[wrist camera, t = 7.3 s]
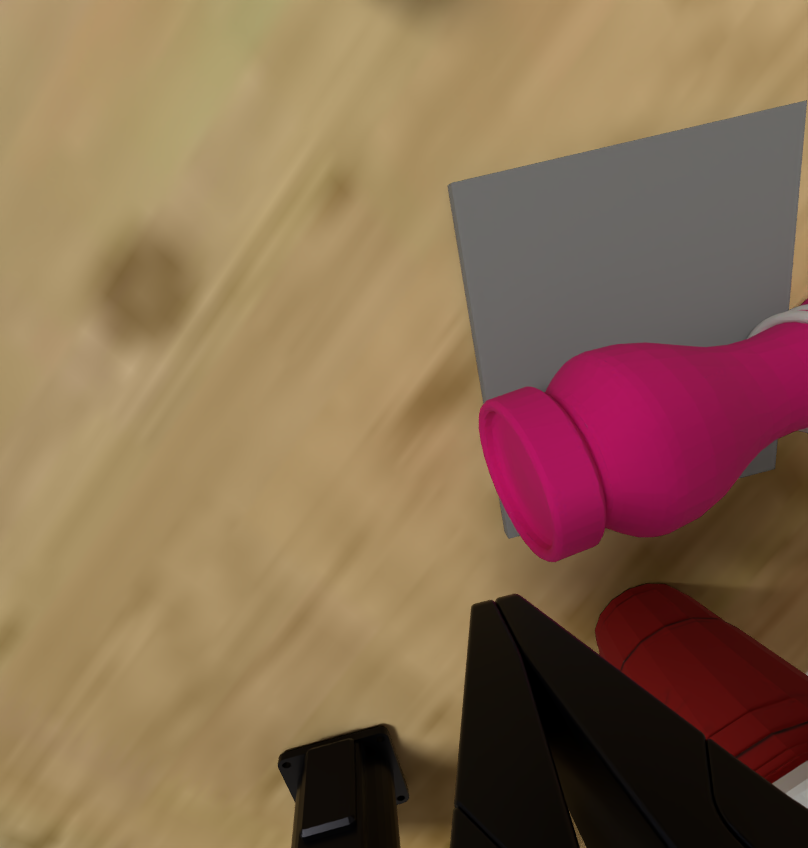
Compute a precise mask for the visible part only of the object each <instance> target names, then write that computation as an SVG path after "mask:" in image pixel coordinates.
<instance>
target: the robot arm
mask: <svg viewBox="0 0 808 848" xmlns="http://www.w3.org/2000/svg"><path fill="white" fill-rule="evenodd" d="M278 768H279V770H280V772H281V774H282V776H283V778H284V780H285V783H286V785H287V787H288V789H289V791H290V793H291V795H292V797H293V799H294V801H295V813H294V824H293V835H292V845H291V848H400V837H399V827H398V816H397V805H398V804H402V803H404V802H406V801H407V800H408V799H409V793H408V787H407V785H406V782H405V779H404V776H403V773H402V770H401V767H400V764H399V761H398V758H397V755H396V752H395V749H394V746H393V743H392V740H391V738H390V735H389V732H388V730H387V728H385V727H376V728H372V729H368V730H365V731H361V732H357V733H354V734H350V735H346V736H343V737H339V738H335V739H332V740H328V741H325V742H321V743H317V744H314V745H310V746H306V747H303V748H299V749H295V750H292V751H288V752H285V753H282V754H281V755H280V756H279V760H278ZM454 805H455V809H454V810H453V819H452V830H451V842H450V848H580V847H579V843H578V840H577V837H576V833H575V830H574V827H573V823H572V820H571V817H570V813H571V815H572V818H573V820H574V822H575V824H576V826H577V828H578V830H579V832H580V835H581V837H582V839H583V841H584V843H585V845H586V847H587V848H808V808H806V807H805V806H803V805H802V804H800V803H799V802H797V801H796V800H794V799H793V798H791V797H790V796H788V795H787V794H785V793H784V792H783V791H781V790H780V789H778V788H777V787H776V786H774V785H773V784H772V783H770V782H769V781H767V780H766V779H765V778H763V777H762V776H760V775H759V774H758V773H756V772H755V771H754V770H752V769H751V768H749V767H748V766H747V765H745V764H744V763H742V762H741V761H740V760H738V759H737V758H736V757H734V756H733V755H732V754H730V753H729V752H728V751H726V750H725V749H724V748H722V747H721V746H720V745H719V744H717V743H716V742H715V741H713V740H712V739H707V740H706V738H705V735H704V734H703V733H702V732H701V731H700V730H698V729H697V728H696V727H694V726H693V725H692V724H690V723H689V722H688V721H686V720H685V719H684V718H682V717H681V716H680V715H678V714H677V713H676V712H674V711H673V710H672V709H670V708H669V707H668V706H666V705H665V704H664V703H662V702H661V701H660V700H658V699H657V698H656V697H654V696H653V695H652V694H650V693H649V692H648V691H646V690H645V689H644V688H642V687H641V686H640V685H639V684H637V683H636V682H635V681H633V680H632V679H631V678H629V677H628V676H627V675H625V674H624V673H623V672H621V671H620V670H619V669H617V668H616V667H615V666H613V665H612V664H611V663H609V662H608V661H607V660H605V659H604V658H603V657H601V656H600V655H599V654H597V653H596V652H595V651H593V650H592V649H591V648H589V647H588V646H587V645H585V644H584V643H583V642H581V641H580V640H579V639H577V638H576V637H575V636H573V635H572V634H571V633H569V632H568V631H567V630H565V629H564V628H563V627H561V626H560V625H559V624H557V623H556V622H555V621H553V620H552V619H551V618H549V617H548V616H547V615H546V614H544V613H543V612H542V611H540V610H539V609H538V608H536V607H535V606H534V605H532V604H531V603H530V602H528V601H527V600H526V599H524V598H523V597H522V596H520V595H518V594H511V595H507V596H503V597H499V598H497V599H496V601H495V602H494V601H493V600H488V601H484V602H480V603H476V604H473V605H472V607H471V616H470V627H469V639H468V650H467V662H466V673H465V685H464V696H463V708H462V719H461V731H460V743H459V754H458V766H457V777H456V789H455V800H454ZM568 809H569V810H568ZM569 811H570V813H569Z"/></svg>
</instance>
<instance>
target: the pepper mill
mask: <svg viewBox="0 0 808 848" xmlns="http://www.w3.org/2000/svg"><path fill="white" fill-rule="evenodd" d="M797 430H798V431H802V432H806V433H808V299H807V300H805V301H804V302H803V303H802V304H801V305H800V306H798V307H795V308H792V309H790V310H788V311H786V312H783V313H779V314H776V315H773V316H771V317H769V318H767V319H765V320H764V321H762V322H761V323H760V324H758V325H757V326H756V327H755V328H754V329H753V330H752V332H751V333H750V335H749V336H748V338H747V339H746V340H742V341H739V342H735V343H732V344H728V345H720V346H711V347H696V346H684V345H672V344H660V343H646V342H643V343H627V344H616V345H610V346H606V347H602V348H598V349H594V350H590V351H586V352H583V353H581V354H579V355H577V356H574V357H573V358H571V359H570V360H568V361H567V362H566V363H565V364H564V365H563V366H562V367H561V368H560V369H559V371H558V372H557V373H556V374H555V376H554V377H553V379H552V380H551V382H550V384H549V386H548V387H547V389H546V391H545V392H543V391H541V390H539V389H537V388H534V387H530V386H526V387H523V388H520V389H518V390H515V391H512V392H509V393H506V394H503V395H501V396H498V397H495V398H492V399H489V400H487V401H486V402H485V403H484V404H483V406H482V407H481V409H480V413H479V433H480V439H481V444H482V449H483V453H484V457H485V460H486V463H487V466H488V470H489V473H490V475H491V478H492V481H493V483H494V486H495V488H496V491H497V493H498V495H499V498H500V500H501V502H502V504H503V506H504V508H505V510H506V512H507V514H508V516H509V518H510V520H511V521H512V523H513V525H514V527H515V529H516V530H517V532H518V533H519V535H520V536H521V538H522V539H523V540H524V542H525V543H526V544H527V545H528V547H529V548H530V549H531V550H532V551H533V552H534V553H535V554H536V555H537V556H538V557H540V558H542V559H544V560H546V561H548V562H556V561H559V560H561V559H564V558H566V557H569V556H572V555H574V554H577V553H579V552H582V551H584V550H587V549H589V548H592V547H594V546H596V545H597V544H599V542H600V540H601V538H602V536H603V534H604V530H605V528H608V529H611V530H613V531H616V532H619V533H622V534H627V535H631V536H635V537H658V536H662V535H666V534H669V533H671V532H673V531H675V530H677V529H678V528H680V527H682V526H684V525H686V524H688V523H690V522H692V521H694V520H696V519H698V518H699V517H701V516H702V515H703V514H704V513H705V512H706V511H708V510H709V509H710V508H711V507H712V506H713V505H715V504H716V503H717V502H718V501H719V500H720V499H721V498H723V497H724V496H725V495H726V493H727V492H728V491H729V490H730V488H731V487H732V486H733V484H734V483H735V482H736V481H737V479H738V478H739V477H740V475H741V474H742V473H743V471H744V470H745V469H746V468H747V466H748V465H749V464H750V462H751V461H752V460H753V459H754V458H755V457H756V456H757V455H758V454H759V453H760V452H761V451H762V450H763V449H764V448H766V447H767V446H768V445H769V444H771V443H772V442H773V441H775V440H776V439H778V438H781V437H783V436H785V435H787V434H790V433H792V432H794V431H797Z"/></svg>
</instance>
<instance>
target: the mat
mask: <svg viewBox="0 0 808 848" xmlns="http://www.w3.org/2000/svg"><path fill="white" fill-rule="evenodd" d="M806 106H807V100H806V101H802V102H798V103H793V104H789V105H785V106H781V107H776V108H772V109H768V110H763V111H759V112H755V113H750V114H746V115H742V116H738V117H733V118H729V119H725V120H720V121H716V122H712V123H707V124H703V125H699V126H695V127H690V128H686V129H682V130H677V131H673V132H669V133H664V134H660V135H656V136H652V137H647V138H643V139H639V140H634V141H630V142H626V143H621V144H617V145H613V146H608V147H604V148H600V149H596V150H591V151H587V152H583V153H578V154H574V155H570V156H565V157H561V158H557V159H553V160H548V161H544V162H540V163H535V164H531V165H527V166H522V167H518V168H514V169H510V170H505V171H501V172H497V173H492V174H488V175H484V176H479V177H475V178H471V179H467V180H462V181H458V182H454V183H450V184H449V185H448V192H449V198H450V204H451V210H452V216H453V222H454V228H455V234H456V240H457V246H458V252H459V258H460V264H461V270H462V276H463V282H464V288H465V295H466V301H467V307H468V313H469V319H470V325H471V331H472V337H473V343H474V349H475V355H476V361H477V367H478V373H479V379H480V385H481V391H482V397H483V403H485V402H486V401H487V400H489V399H492V398H495V397H498V396H501V395H503V394H506V393H509V392H512V391H515V390H518V389H520V388H523V387H526V386H530V387H534V388H537V389H539V390H541V391H543V392H545V391H546V389H547V387H548V386H549V384H550V382H551V380H552V379H553V377H554V376H555V374H556V373H557V372H558V371H559V369H560V368H561V367H562V366H563V365H564V364H565V363H566V362H567V361H568V360H570V359H571V358H573V357H574V356H577V355H579V354H581V353H583V352H586V351H590V350H594V349H598V348H602V347H606V346H610V345H616V344H627V343H643V342H646V343H660V344H672V345H684V346H696V347H711V346H720V345H728V344H732V343H735V342H739V341H742V340H746V339H747V338H748V336H749V335H750V333H751V332H752V330H753V329H754V328H755V327H756V326H757V325H758V324H760V323H761V322H762V321H764V320H765V319H767V318H769V317H771V316H773V315H776V314H779V313H783V312H786V311H788V310H789V302H790V290H791V279H792V267H793V256H794V244H795V233H796V221H797V210H798V198H799V187H800V175H801V164H802V152H803V141H804V129H805V118H806ZM777 440H778V439H776V440H775V441H773V442H772V443H771V444H769V445H768V446H767V447H766V448H764V449H763V450H762V451H761V452H760V453H759V454H758V455H757V456H756V457H755V458H754V459H753V460H752V461H751V462H750V464H749V465H748V466H747V468H746V469H745V470H744V471H743V473H742V474H741V475H740V477H739V478H742V477H746V476H750V475H753V474H757V473H761V472H765V471H769V470H773V469H775V463H776V451H777ZM499 500H500V498H499ZM500 506H501V512H502V519H503V525H504V531H505V533H506V535H507V537H508V538H513V537H517V536H520V535H519V533H518V532H517V530H516V529H515V527H514V525H513V523H512V521H511V520H510V518H509V516H508V514H507V512H506V510H505V508H504V506H503V504H502V502H501V500H500Z"/></svg>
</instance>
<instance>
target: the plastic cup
mask: <svg viewBox="0 0 808 848" xmlns="http://www.w3.org/2000/svg"><path fill="white" fill-rule="evenodd" d="M595 634H596V641H597V645H598V648H599V653H600V656H601V657H603V658H604V659H605V660H607V661H608V662H609V663H611V664H612V665H613V666H615V667H616V668H617V669H619V670H620V671H621V672H623V673H624V674H625V675H627V676H628V677H629V678H631V679H632V680H633V681H635V682H636V683H637V684H639V685H640V686H641V687H642V688H644V689H645V690H646V691H648V692H649V693H650V694H652V695H653V696H654V697H656V698H657V699H658V700H660V701H661V702H662V703H664V704H665V705H666V706H668V707H669V708H670V709H672V710H673V711H674V712H676V713H677V714H678V715H680V716H681V717H682V718H684V719H685V720H686V721H688V722H689V723H690V724H692V725H693V726H694V727H696V728H697V729H698V730H700V731H701V732H702V733H703V734H704V735H705V738H706V740H707V739H712V740H713V741H715V742H716V743H717V744H719V745H720V746H721V747H722V748H724V749H725V750H726V751H728V752H729V753H730V754H732V755H733V756H734V757H736V758H737V759H738V760H740V761H741V762H742V763H744V764H745V765H747V766H748V767H749V768H751V769H752V770H754V771H755V772H756V773H758V774H759V775H760V776H762V777H763V778H765V779H766V780H767V781H769V782H770V783H772V784H773V785H774V786H776V787H777V788H778V789H780V790H781V791H783V792H784V793H785V794H787V795H788V796H790V797H791V798H793V799H794V800H796V801H797V802H799V803H800V804H802V805H803V806H805V807H806V808H808V676H807V675H806V674H804V673H803V672H801V671H800V670H798V669H797V668H795V667H794V666H792V665H791V664H790V663H788V662H787V661H785V660H784V659H782V658H781V657H779V656H778V655H776V654H775V653H774V652H772V651H771V650H769V649H768V648H766V647H765V646H763V645H762V644H760V643H759V642H757V641H756V640H755V639H753V638H752V637H750V636H749V635H747V634H746V633H744V632H743V631H741V630H740V629H738V628H737V627H735V626H733V625H731V624H729V623H727V622H725V621H724V620H722V619H721V618H720V617H718V616H717V615H715V614H714V613H713V612H711V611H710V610H708V609H707V608H706V607H704V606H703V605H701V604H700V603H699V602H697V601H696V600H695V599H693V598H692V597H690V596H688V595H686V594H684V593H682V592H680V591H679V590H677V589H675V588H672V587H670V586H668V585H666V584H644V585H641V586H638V587H635V588H631V589H628V590H627V591H625V592H624V593H622V594H621V595H619V596H618V597H616V598H615V599H613V600H612V601H611V602H610V603H609V605H608V606H607V607H606V608H605V610H604V611H603V612H602V613H601V615H600V617H599V620H598V623H597V626H596V629H595Z"/></svg>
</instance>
